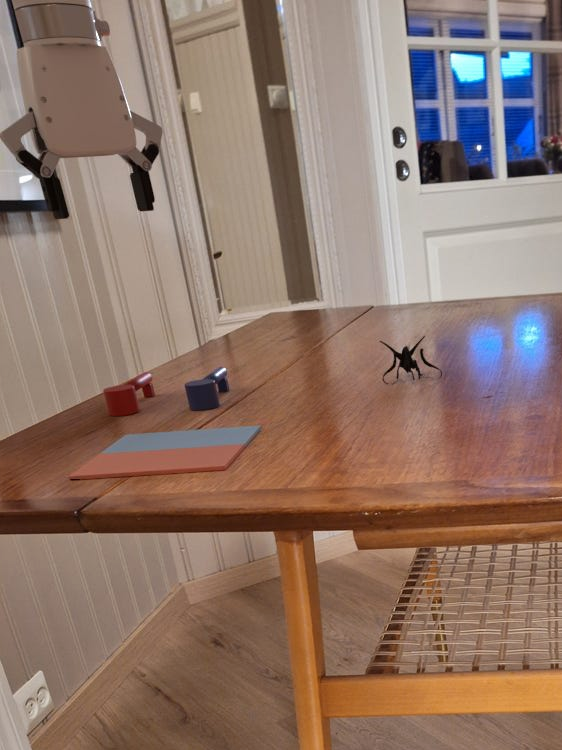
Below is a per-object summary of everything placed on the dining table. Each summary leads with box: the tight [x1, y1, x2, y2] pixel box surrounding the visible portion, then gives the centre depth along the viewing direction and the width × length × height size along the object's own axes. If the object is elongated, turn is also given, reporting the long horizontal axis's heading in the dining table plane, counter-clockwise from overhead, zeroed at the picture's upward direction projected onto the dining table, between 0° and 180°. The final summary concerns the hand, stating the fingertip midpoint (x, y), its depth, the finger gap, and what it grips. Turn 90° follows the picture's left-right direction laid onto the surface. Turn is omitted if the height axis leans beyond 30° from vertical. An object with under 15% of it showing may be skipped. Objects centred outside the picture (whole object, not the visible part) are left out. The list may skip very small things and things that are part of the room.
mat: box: [68, 425, 262, 480], centre depth 88 cm, size 15×15×1 cm
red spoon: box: [102, 371, 156, 417], centre depth 110 cm, size 12×4×3 cm, turn 0°
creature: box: [379, 335, 443, 385], centre depth 112 cm, size 8×5×8 cm
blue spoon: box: [184, 366, 230, 412], centre depth 109 cm, size 12×4×3 cm, turn 0°
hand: (105, 214), depth 98 cm, fingers open, 9 cm apart
